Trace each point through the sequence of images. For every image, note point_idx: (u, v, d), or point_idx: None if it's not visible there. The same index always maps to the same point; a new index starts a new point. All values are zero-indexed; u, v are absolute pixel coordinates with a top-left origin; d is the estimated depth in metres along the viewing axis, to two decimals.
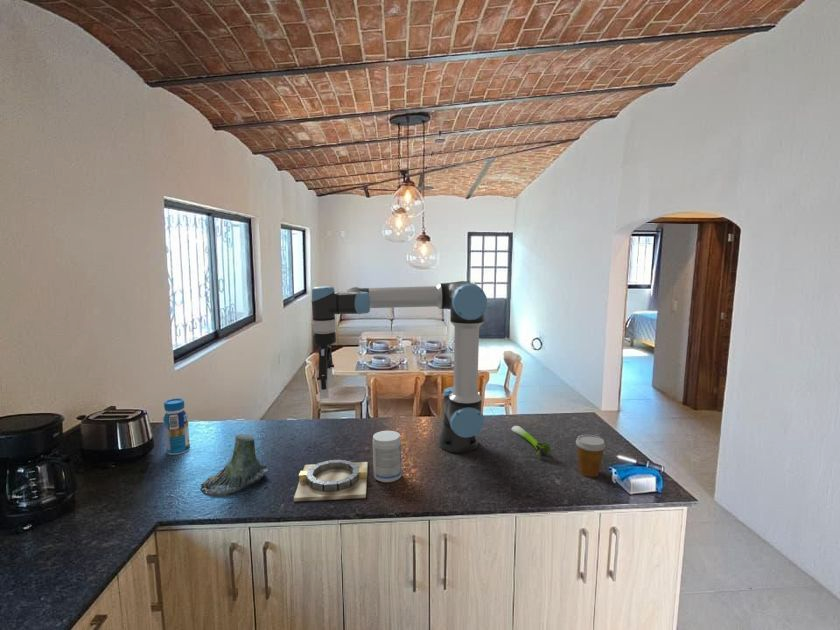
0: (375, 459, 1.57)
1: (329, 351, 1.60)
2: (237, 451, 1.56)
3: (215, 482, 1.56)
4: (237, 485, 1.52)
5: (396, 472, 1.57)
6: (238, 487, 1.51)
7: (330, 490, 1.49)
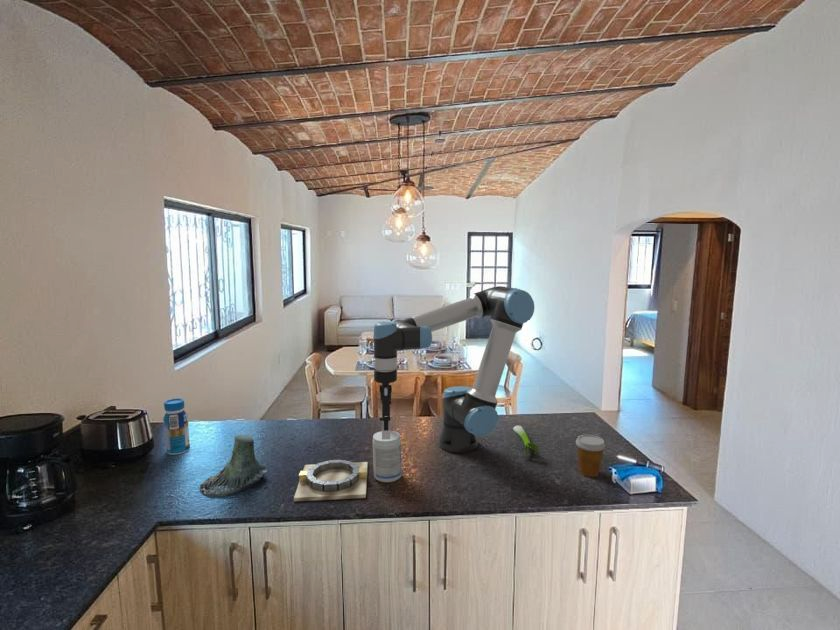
0: (375, 459, 1.57)
1: (390, 389, 1.54)
2: (236, 452, 1.55)
3: (214, 483, 1.55)
4: (235, 486, 1.52)
5: (396, 472, 1.57)
6: (236, 488, 1.51)
7: (330, 490, 1.49)
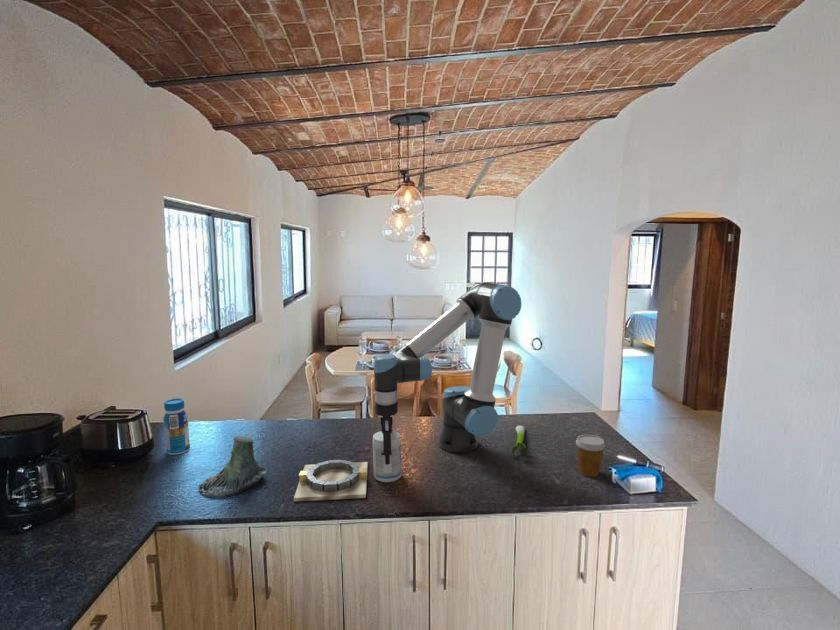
0: (375, 459, 1.57)
1: (391, 422, 1.56)
2: (235, 452, 1.54)
3: (213, 483, 1.55)
4: (234, 487, 1.51)
5: (396, 472, 1.57)
6: (235, 489, 1.50)
7: (330, 490, 1.49)
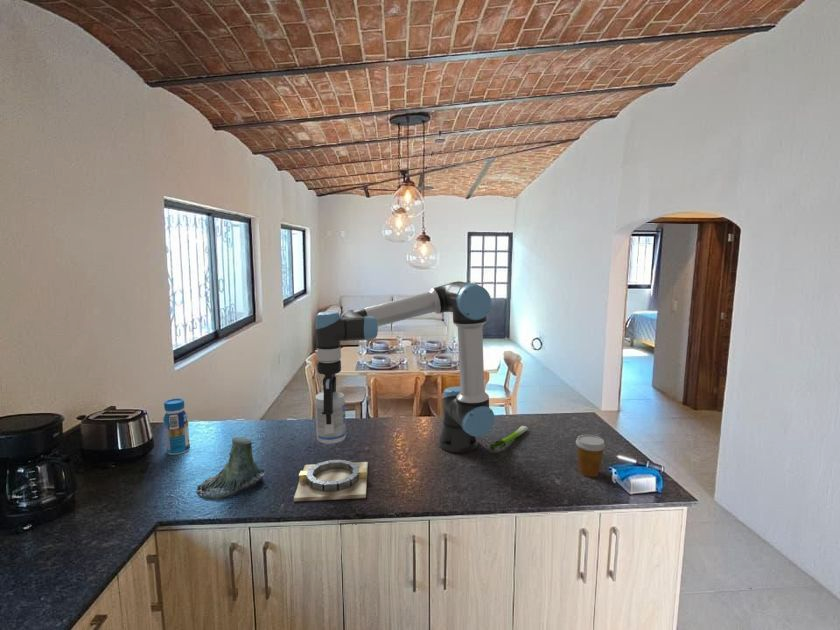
0: (317, 419, 1.51)
1: (334, 381, 1.50)
2: (233, 454, 1.53)
3: (211, 484, 1.54)
4: (231, 489, 1.50)
5: (339, 433, 1.51)
6: (232, 491, 1.49)
7: (330, 490, 1.49)
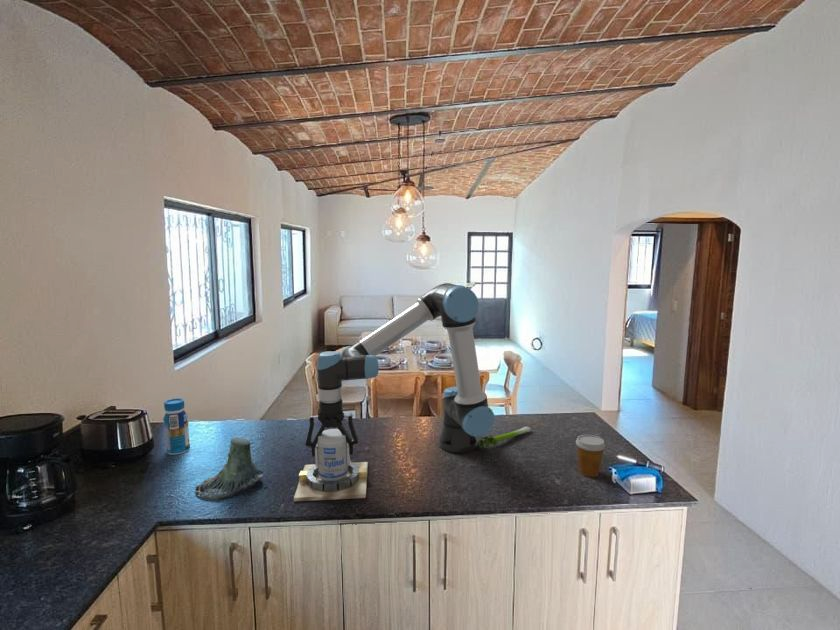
0: None
1: (324, 421, 1.52)
2: (232, 455, 1.53)
3: (210, 485, 1.54)
4: (229, 490, 1.50)
5: (320, 471, 1.53)
6: (229, 492, 1.48)
7: (330, 490, 1.49)
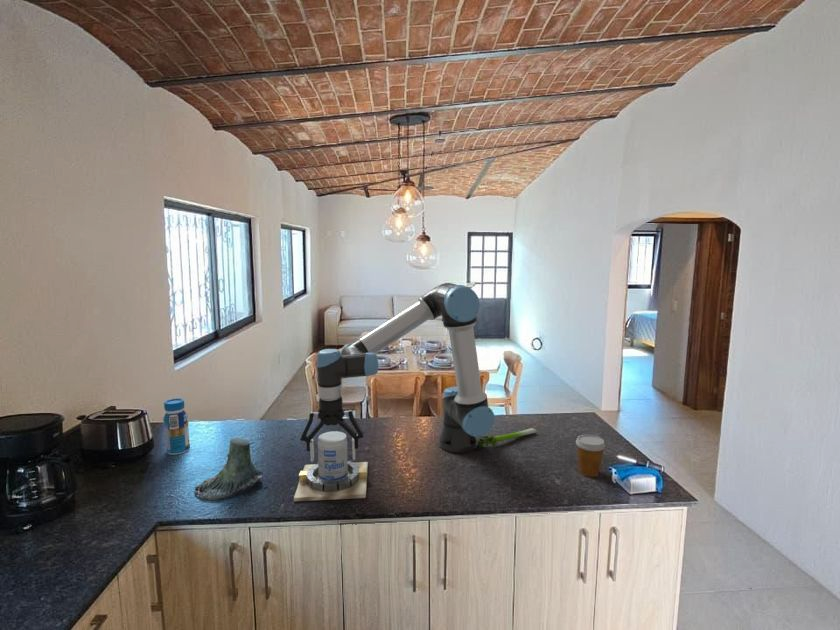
0: None
1: (324, 418, 1.52)
2: (231, 455, 1.52)
3: (209, 485, 1.53)
4: (228, 490, 1.49)
5: (320, 473, 1.54)
6: (228, 493, 1.48)
7: (330, 490, 1.49)
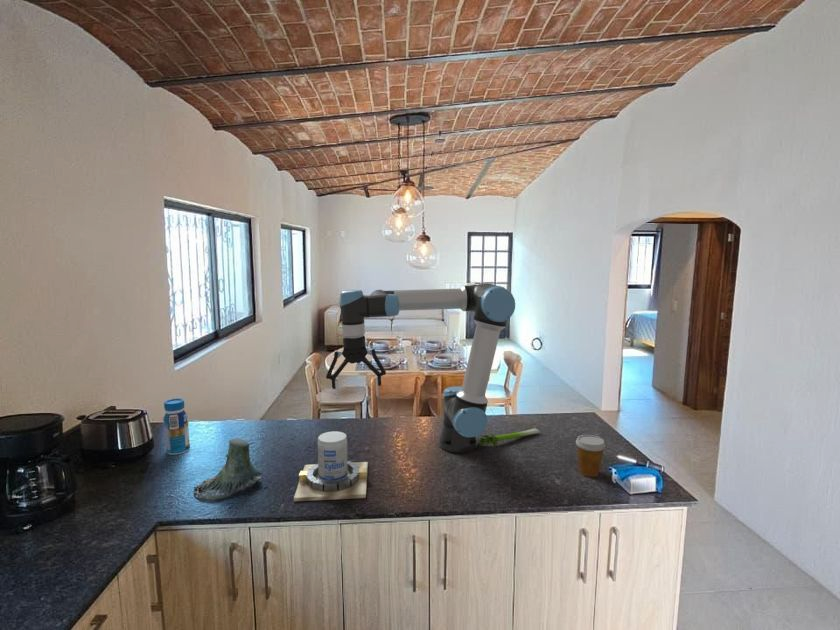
0: None
1: (348, 356, 1.59)
2: (230, 456, 1.52)
3: (208, 486, 1.53)
4: (226, 491, 1.49)
5: (320, 473, 1.54)
6: (227, 493, 1.47)
7: (330, 490, 1.49)
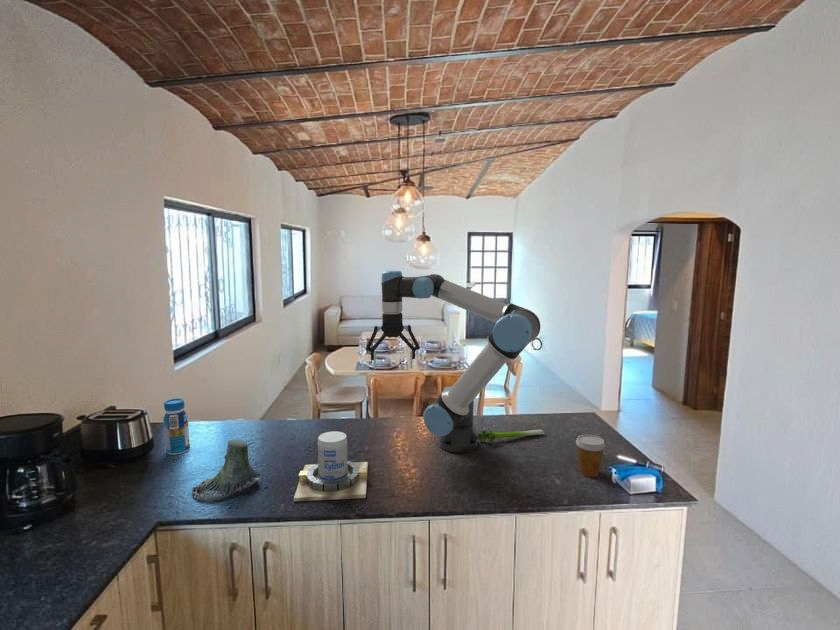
0: None
1: (386, 330, 1.75)
2: (228, 457, 1.51)
3: (207, 486, 1.53)
4: (224, 492, 1.48)
5: (320, 473, 1.54)
6: (225, 494, 1.47)
7: (330, 490, 1.49)
